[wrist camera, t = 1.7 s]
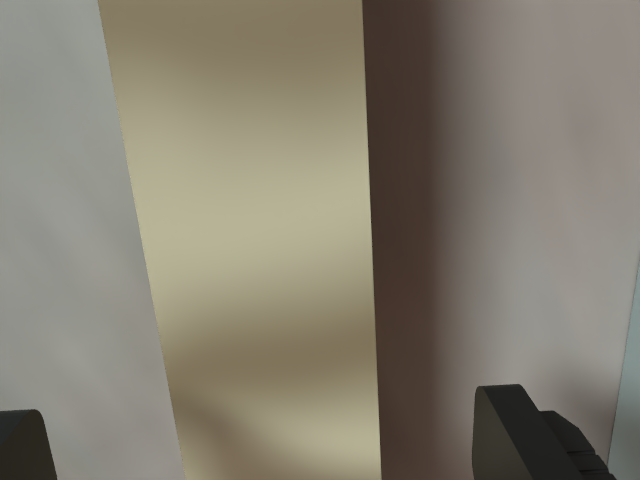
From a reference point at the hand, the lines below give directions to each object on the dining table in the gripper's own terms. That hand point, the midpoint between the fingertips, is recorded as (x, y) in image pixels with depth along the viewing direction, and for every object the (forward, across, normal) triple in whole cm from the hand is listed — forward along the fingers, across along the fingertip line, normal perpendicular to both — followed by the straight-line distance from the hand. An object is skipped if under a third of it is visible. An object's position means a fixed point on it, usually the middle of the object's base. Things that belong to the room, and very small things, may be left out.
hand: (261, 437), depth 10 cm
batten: (+8, 0, 0) cm, 8 cm away
